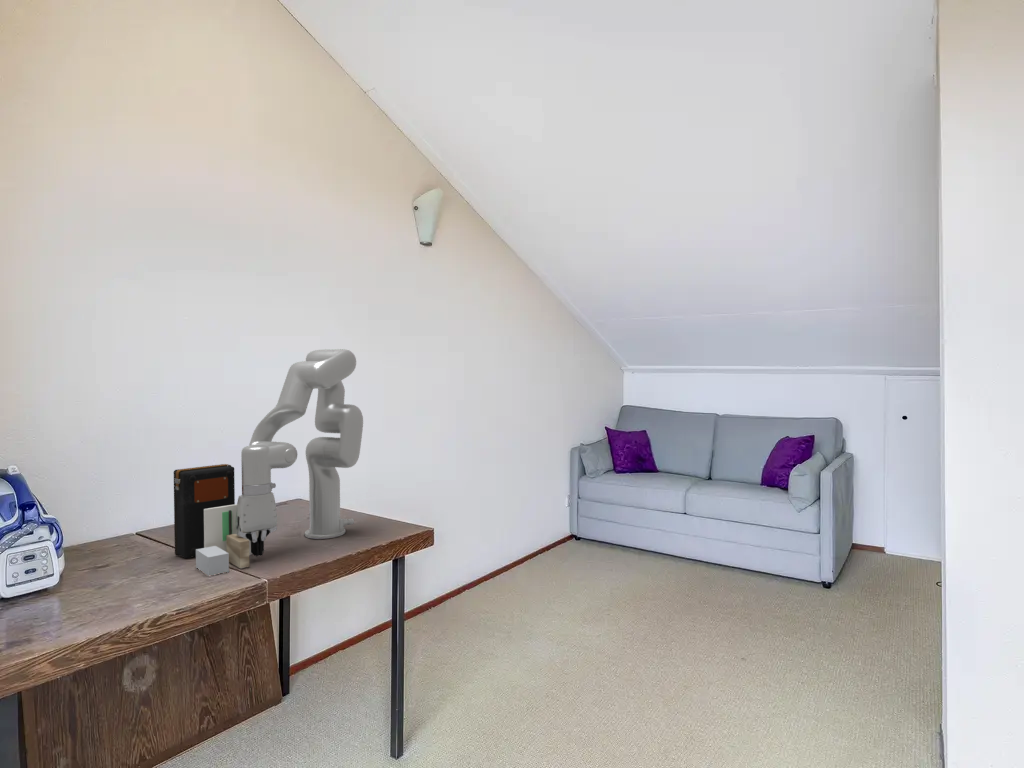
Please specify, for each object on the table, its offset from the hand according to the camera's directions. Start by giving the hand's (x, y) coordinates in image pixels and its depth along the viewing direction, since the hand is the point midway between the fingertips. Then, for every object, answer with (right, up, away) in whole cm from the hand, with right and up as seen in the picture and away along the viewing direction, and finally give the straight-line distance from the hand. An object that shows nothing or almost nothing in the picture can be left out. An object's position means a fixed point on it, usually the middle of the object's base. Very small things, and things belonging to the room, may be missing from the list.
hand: (257, 554), depth 169 cm
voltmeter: (-19, -2, +8) cm, 20 cm away
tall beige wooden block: (-4, -2, -4) cm, 6 cm away
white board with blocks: (-5, -2, -3) cm, 5 cm away
